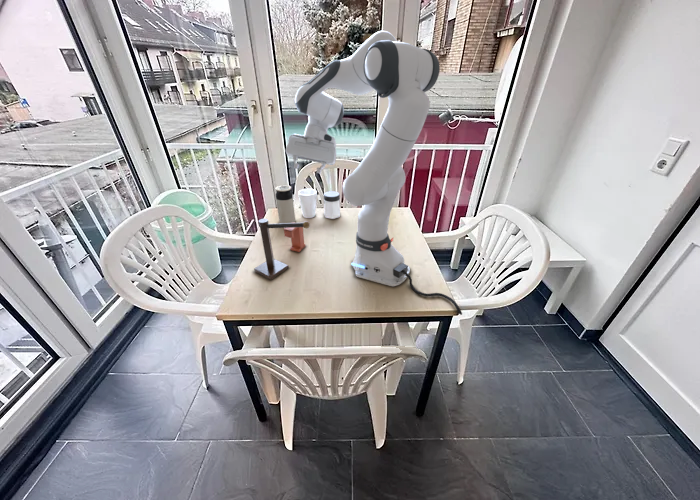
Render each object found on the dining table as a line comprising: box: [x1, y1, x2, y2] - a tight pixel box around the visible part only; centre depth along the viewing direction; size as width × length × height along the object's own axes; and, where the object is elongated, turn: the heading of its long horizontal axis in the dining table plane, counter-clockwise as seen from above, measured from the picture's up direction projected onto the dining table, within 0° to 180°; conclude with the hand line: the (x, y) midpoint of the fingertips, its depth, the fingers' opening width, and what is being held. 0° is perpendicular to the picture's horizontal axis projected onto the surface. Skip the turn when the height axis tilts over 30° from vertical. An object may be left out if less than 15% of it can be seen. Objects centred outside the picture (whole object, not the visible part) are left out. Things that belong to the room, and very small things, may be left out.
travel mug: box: [274, 184, 296, 223], centre depth 139 cm, size 8×8×18 cm
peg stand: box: [253, 218, 311, 281], centre depth 104 cm, size 22×13×21 cm, turn 95°
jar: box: [323, 190, 341, 220], centre depth 147 cm, size 9×8×12 cm
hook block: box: [283, 221, 306, 253], centre depth 118 cm, size 8×4×12 cm, turn 157°
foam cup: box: [297, 188, 318, 219], centre depth 147 cm, size 10×9×13 cm
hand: (307, 170), depth 114 cm, fingers open, 8 cm apart
